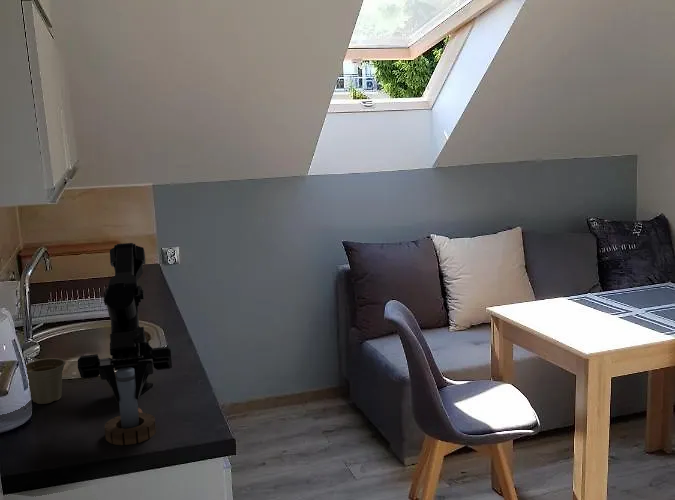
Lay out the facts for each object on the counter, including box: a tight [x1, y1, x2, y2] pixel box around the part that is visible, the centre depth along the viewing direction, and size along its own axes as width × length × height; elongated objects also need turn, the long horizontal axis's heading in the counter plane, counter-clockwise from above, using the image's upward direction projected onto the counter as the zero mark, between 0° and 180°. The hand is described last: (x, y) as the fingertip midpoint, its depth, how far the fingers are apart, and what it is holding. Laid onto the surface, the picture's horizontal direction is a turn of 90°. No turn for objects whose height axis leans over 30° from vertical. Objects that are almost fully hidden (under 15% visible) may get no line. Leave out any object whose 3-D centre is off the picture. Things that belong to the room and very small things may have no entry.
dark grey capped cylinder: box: [115, 367, 140, 429], centre depth 142 cm, size 4×4×12 cm
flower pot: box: [25, 357, 66, 405], centre depth 163 cm, size 9×9×9 cm
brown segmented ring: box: [104, 412, 157, 446], centre depth 144 cm, size 10×10×2 cm
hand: (127, 400), depth 141 cm, fingers closed on dark grey capped cylinder, 3 cm apart
